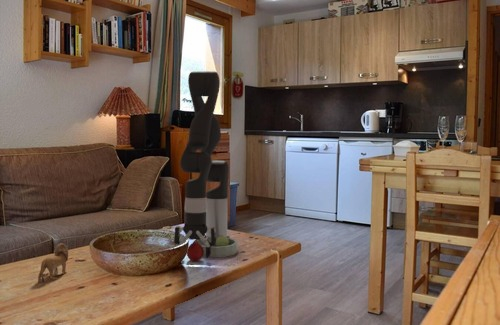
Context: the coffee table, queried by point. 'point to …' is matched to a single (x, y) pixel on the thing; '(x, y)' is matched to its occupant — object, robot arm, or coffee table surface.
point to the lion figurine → (54, 262)
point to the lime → (222, 241)
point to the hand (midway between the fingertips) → (195, 256)
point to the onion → (195, 251)
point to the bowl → (221, 248)
